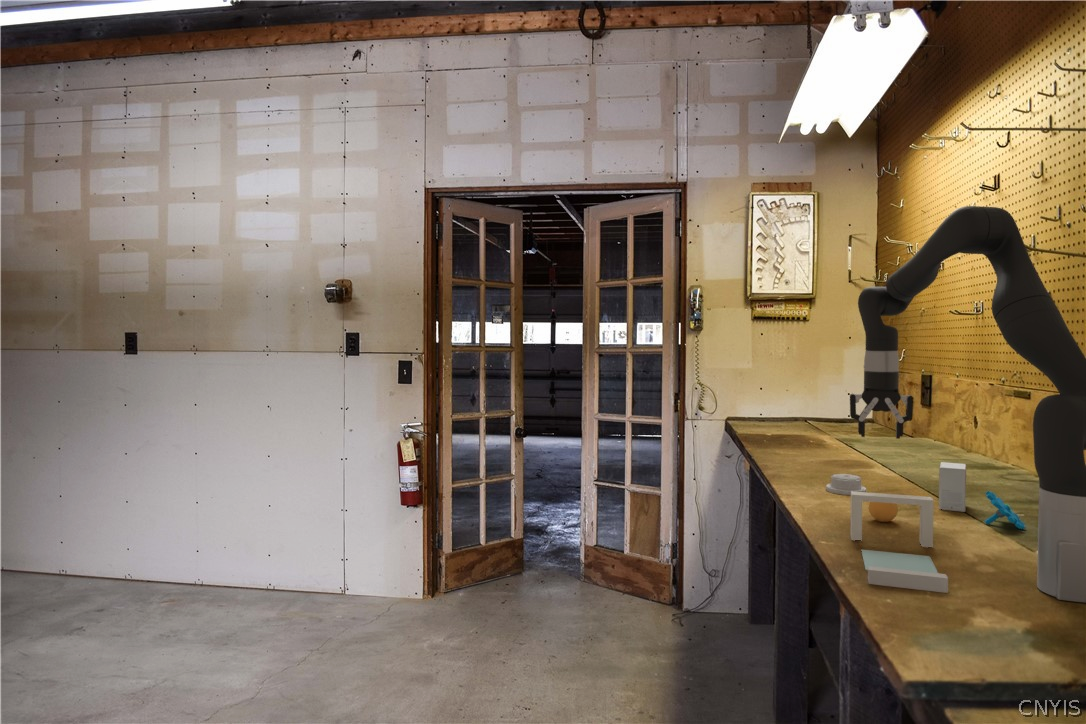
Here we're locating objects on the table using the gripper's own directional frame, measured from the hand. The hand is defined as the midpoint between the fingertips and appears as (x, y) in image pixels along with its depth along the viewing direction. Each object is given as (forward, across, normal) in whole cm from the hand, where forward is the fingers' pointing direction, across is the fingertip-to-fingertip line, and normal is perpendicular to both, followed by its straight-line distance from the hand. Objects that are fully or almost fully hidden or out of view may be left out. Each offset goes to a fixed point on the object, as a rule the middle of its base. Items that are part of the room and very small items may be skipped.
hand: (880, 437), depth 163 cm
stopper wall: (+18, 0, -52) cm, 55 cm away
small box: (+18, +17, +9) cm, 26 cm away
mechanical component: (+19, -7, +19) cm, 27 cm away
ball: (+15, 0, -10) cm, 18 cm away
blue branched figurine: (+18, +25, -5) cm, 31 cm away
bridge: (+18, 0, -26) cm, 32 cm away
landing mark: (+18, 0, -40) cm, 44 cm away
